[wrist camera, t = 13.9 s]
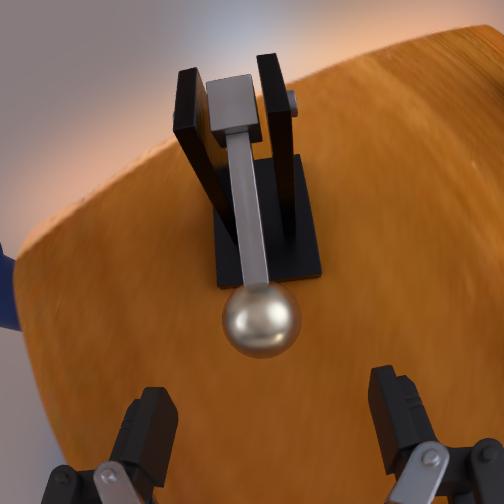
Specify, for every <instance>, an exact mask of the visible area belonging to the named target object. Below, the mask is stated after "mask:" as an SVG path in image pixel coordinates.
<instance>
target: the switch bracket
mask: <svg viewBox="0 0 504 504" xmlns="http://www.w3.org/2000/svg"><path fill="white" fill-rule="evenodd" d="M256 58H257V63H258V69H259V75H260V81H261V87H262V93H263V99H264V106H265V112H266V118H267V125H268V131H269V138H270V144H271V151H272V158H266V159H259V160H254V165H255V173H256V180H257V187H258V194H259V202H260V209H261V216H262V224H263V231H264V239H265V246H266V254H267V262H268V270H269V277H270V281H274V282H276V283H280V282H287V281H295V280H303V279H310V278H317V277H321V274H322V270H321V263H320V257H319V251H318V245H317V240H316V234H315V228H314V223H313V217H312V212H311V207H310V201H309V196H308V191H307V186H306V181H305V176H304V172H303V167H302V162H301V158H300V154H296V155H294V151H293V132H292V117H297V116H298V108H297V101H296V96H295V93H294V91H293V90H289V91H286V88H285V84H284V80H283V76H282V73H281V69H280V65H279V62H278V58H277V55H276V53H273V54H264V55H257V57H256ZM173 132H174V134H175V136H176V138H177V140H178V141H179V143H180V145H181V147H182V149H183V151H184V153H185V154H186V156H187V158H188V160H189V162H190V164H191V166H192V168H193V169H194V171H195V173H196V175H197V177H198V179H199V181H200V182H201V184H202V186H203V188H204V190H205V192H206V193H207V195H208V197H209V199H210V201H211V203H212V205H213V215H214V236H215V255H216V273H217V286H218V287H219V288H220V289H221V290H222V289H230V288H238V287H240V286H241V285H243V284H244V283H243V275H242V267H241V259H240V252H239V244H238V236H237V228H236V220H235V212H234V204H233V196H232V188H231V179H230V171H229V163H228V154H227V151H226V148H220V146H219V144H218V143H217V141H216V139H215V138H214V136H213V134H212V133H211V131H210V122H209V112H208V101H207V94H206V91H205V89H204V86H203V83H202V80H201V77H200V74H199V72H198V69H197V68H196V67H194V68H190V69H187V70H182V71H179V73H178V82H177V91H176V100H175V111H174V113H173Z"/></svg>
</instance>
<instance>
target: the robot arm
mask: <svg viewBox="0 0 504 504" xmlns="http://www.w3.org/2000/svg"><path fill="white" fill-rule="evenodd" d="M368 402H369V407H370V411H371V415H372V418H373V422H374V426H375V430H376V434H377V438H378V442H379V446H380V450H381V454H382V458H383V462H384V467H385V471H386V475H389V474H393V473H394V474H395V478H396V483H395V484H394V486H393V488H392V490H391V492H390V493H389V495H388V497H387V499H386V500H385V502H384V504H431V502H432V500H433V498H434V496H447V498H448V503H449V504H504V448H503V446H502V445H501V443H500V442H499V441H497V440H495V439H492V438H485V439H482V440H480V441H478V442H477V443H476V444H475V445H474V447H462V448H451V447H447V446H445V445H443V444H441V443H440V442H439V441H438V440H437V438H436V436H435V434H434V432H433V429H432V426H431V424H430V421H429V418H428V416H427V413H426V411H425V408H424V406H423V405H422V401H421V398H420V396H419V394H418V391H417V389H416V386H415V384H414V383H413V382H412V381H411V380H410V379H409V378H408V377H407V376H406V375H403V376H398V377H396V374H395V372H394V369H393V367H392V365H385V366H381V367H376V368H372V369H371V375H370V382H369V389H368ZM177 425H178V411H177V409H176V407H175V405H174V403H173V401H172V400H171V398H170V396H169V394H168V392H167V390H166V389H165V388H164V387H146V388H145V389H144V391H143V393H142V396H141V399H135V400H134V401H133V403H132V404H131V405H130V406H129V407H128V409H127V411H126V414H125V417H124V420H123V422H122V425H121V429H120V431H119V433H118V436H117V439H116V442H115V445H114V448H113V450H112V453H111V456H110V459H109V460H108V461H106V462H103V463H101V464H100V465H99V466H98V467H97V468H96V469H95V470H87V471H75V470H74V469H73V468H72V467H70V466H68V465H60V466H58V467H56V468H55V469H54V470H53V471H52V472H51V474H50V477H49V480H48V483H47V486H46V489H45V492H44V495H43V499H42V502H41V504H159V503H158V501H157V499H156V498H155V496H154V494H153V489H154V486H155V487H162V488H164V483H165V478H166V474H167V469H168V464H169V460H170V455H171V451H172V446H173V442H174V438H175V433H176V429H177Z"/></svg>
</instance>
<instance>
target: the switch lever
mask: <svg viewBox="0 0 504 504" xmlns="http://www.w3.org/2000/svg"><path fill="white" fill-rule="evenodd" d="M206 89H207V101H208V112H209V122H210V131H211V133H212V134H213V136H214V138H215V139H216V141H217V143H218V144H219V146H220V148H226V147H227V154H228V163H229V171H230V179H231V188H232V196H233V204H234V212H235V220H236V228H237V236H238V244H239V252H240V259H241V267H242V275H243V283H244V284H243V285H241V286H240V287H238V288H237V289H236V290H235V291H234V292H233V293H232V294H231V295H230V296H229V298H228V299H227V301H226V303H225V306H224V309H223V313H222V326H223V330H224V333H225V336H226V338H227V340H228V341H229V342H230V344H231V345H232V346H233V347H234V348H235V349H236V350H237V351H239V352H240V353H242V354H244V355H246V356H249V357H252V358H258V359H267V358H272V357H275V356H278V355H280V354H282V353H283V352H285V351H286V350H288V349H289V348H290V347H291V346H292V345H293V343H294V342H295V341H296V339H297V337H298V335H299V333H300V329H301V324H302V314H301V309H300V306H299V303H298V301H297V299H296V298H295V296H294V295H293V294H292V293H291V292H290V291H289V290H288V289H287V288H286V287H284V286H283V285H281V284H279V283H276V282H274V281H270V277H269V270H268V262H267V254H266V246H265V239H264V231H263V224H262V216H261V209H260V202H259V194H258V187H257V180H256V173H255V165H254V158H253V151H252V144H251V143H257V142H262V141H263V140H262V133H261V127H260V121H259V114H258V108H257V102H256V96H255V91H254V86H253V82H252V77H251V74H247V75H241V76H235V77H230V78H224V79H219V80H214V81H210V82H206Z"/></svg>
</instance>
